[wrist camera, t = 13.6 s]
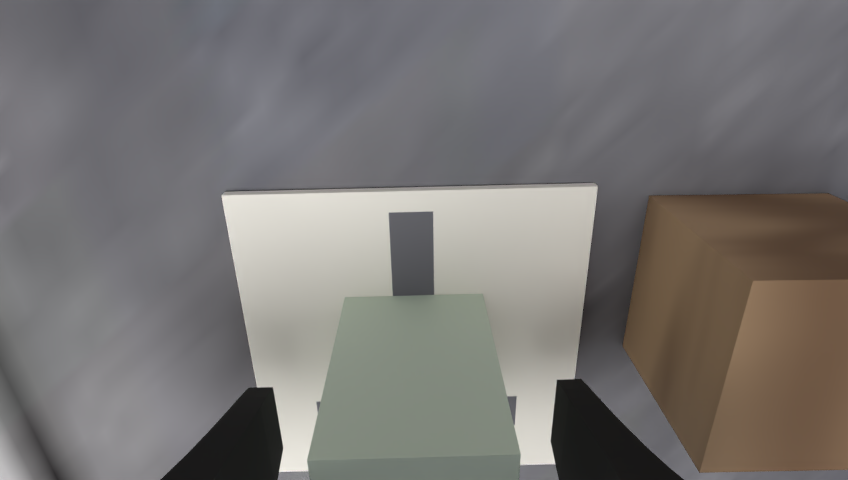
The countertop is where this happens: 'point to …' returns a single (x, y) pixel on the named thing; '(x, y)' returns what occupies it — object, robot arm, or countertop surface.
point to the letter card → (413, 283)
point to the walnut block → (746, 327)
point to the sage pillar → (414, 394)
